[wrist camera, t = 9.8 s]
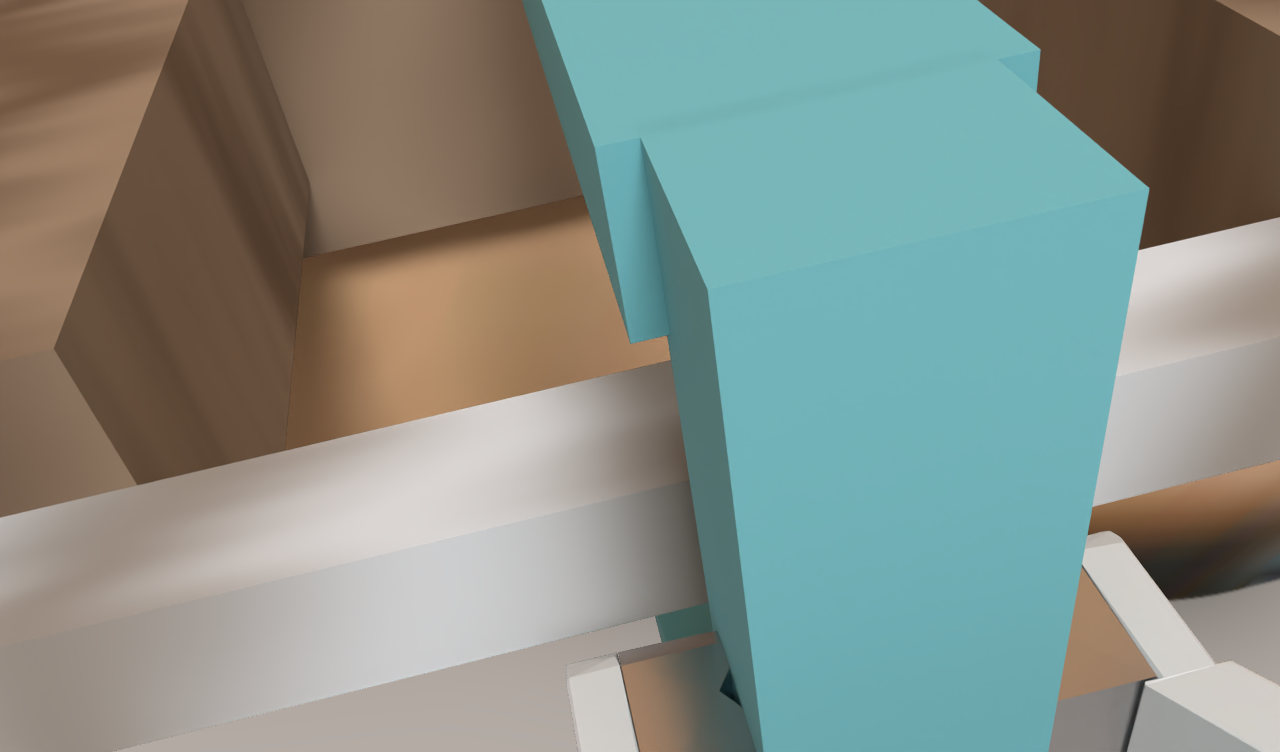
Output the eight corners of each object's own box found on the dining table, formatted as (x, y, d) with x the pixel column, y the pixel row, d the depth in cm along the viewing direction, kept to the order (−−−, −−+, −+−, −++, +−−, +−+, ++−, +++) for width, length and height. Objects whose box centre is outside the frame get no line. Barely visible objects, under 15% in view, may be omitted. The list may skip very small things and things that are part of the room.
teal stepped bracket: (747, -180, 13) (1203, 174, 6) (795, 505, 20) (1020, 1028, 13) (495, -129, 13) (651, 303, 6) (636, 544, 20) (779, 1095, 13)
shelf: (1178, -383, 24) (2369, -254, 10) (1116, 49, 30) (1783, 512, 16) (-206, -111, 22) (-1258, 545, 8) (34, 289, 28) (-307, 1059, 14)
